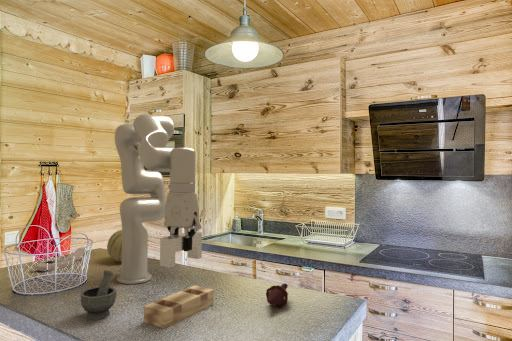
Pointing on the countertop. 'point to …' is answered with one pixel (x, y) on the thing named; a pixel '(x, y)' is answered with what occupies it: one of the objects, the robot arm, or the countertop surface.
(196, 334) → the countertop surface
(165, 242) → the grey boxy piece
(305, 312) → the countertop surface
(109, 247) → the cantaloupe
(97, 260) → the countertop surface
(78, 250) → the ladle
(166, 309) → the brown wooden rectangular block
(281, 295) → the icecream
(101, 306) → the mortar and pestle
